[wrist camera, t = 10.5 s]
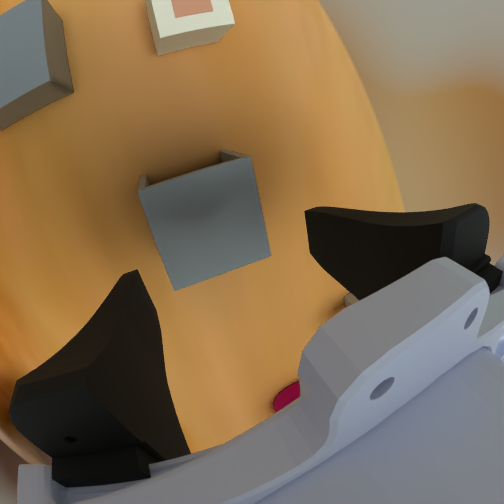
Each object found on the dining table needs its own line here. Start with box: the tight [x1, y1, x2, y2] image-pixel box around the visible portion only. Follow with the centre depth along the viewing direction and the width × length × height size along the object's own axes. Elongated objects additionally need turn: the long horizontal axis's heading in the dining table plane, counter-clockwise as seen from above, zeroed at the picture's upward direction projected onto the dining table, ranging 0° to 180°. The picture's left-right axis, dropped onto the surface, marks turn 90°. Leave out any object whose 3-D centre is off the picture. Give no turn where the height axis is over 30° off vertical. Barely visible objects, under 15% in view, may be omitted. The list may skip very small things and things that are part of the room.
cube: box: [146, 0, 235, 56], centre depth 12 cm, size 4×4×4 cm
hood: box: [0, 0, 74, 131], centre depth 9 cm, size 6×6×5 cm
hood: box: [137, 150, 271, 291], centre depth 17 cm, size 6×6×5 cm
